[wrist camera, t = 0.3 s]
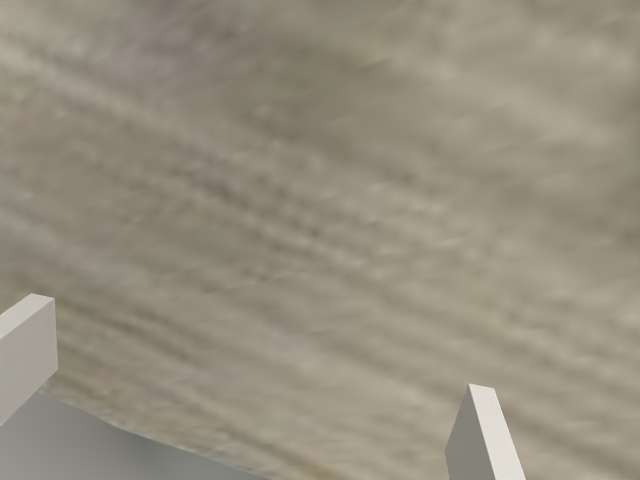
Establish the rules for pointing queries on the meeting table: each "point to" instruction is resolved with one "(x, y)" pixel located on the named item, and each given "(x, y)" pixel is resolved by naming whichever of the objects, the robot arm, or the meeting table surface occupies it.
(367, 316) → the meeting table surface
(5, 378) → the robot arm
